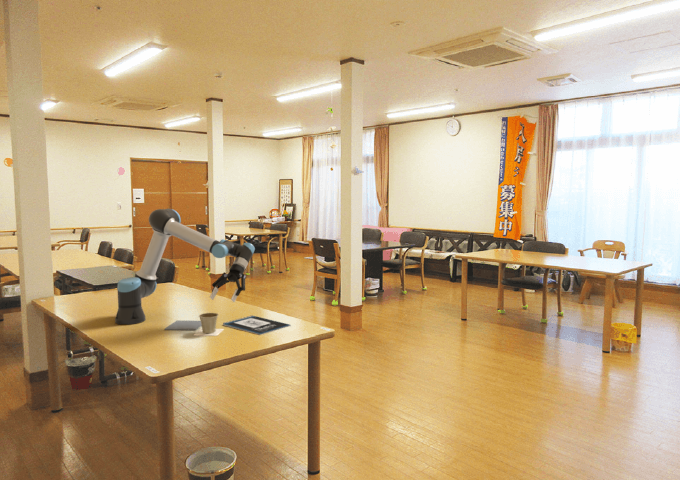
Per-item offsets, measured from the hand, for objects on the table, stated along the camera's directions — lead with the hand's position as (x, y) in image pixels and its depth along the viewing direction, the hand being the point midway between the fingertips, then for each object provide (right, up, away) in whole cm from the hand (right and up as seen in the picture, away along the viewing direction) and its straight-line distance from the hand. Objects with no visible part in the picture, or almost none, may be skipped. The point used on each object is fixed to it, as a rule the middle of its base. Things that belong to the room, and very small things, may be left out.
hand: (221, 299), depth 239 cm
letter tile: (-4, -15, -9) cm, 18 cm away
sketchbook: (+17, -15, +5) cm, 23 cm away
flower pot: (-4, -15, -9) cm, 18 cm away
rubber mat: (-20, -14, +3) cm, 25 cm away
